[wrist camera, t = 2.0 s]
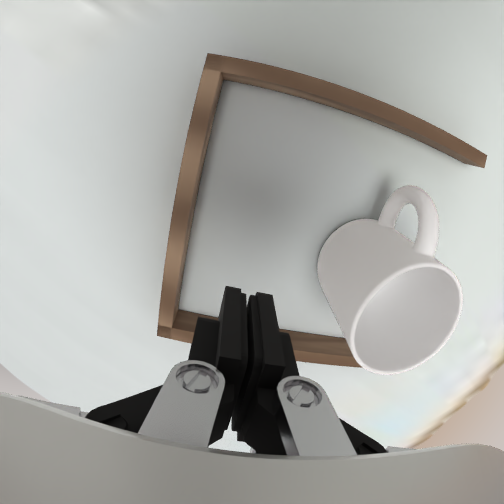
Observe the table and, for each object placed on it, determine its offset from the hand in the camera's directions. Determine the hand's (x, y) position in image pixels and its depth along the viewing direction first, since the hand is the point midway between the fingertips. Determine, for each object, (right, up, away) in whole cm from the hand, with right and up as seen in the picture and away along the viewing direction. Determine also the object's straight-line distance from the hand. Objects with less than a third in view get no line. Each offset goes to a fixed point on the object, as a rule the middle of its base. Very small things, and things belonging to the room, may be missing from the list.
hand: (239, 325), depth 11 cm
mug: (+10, +4, +15) cm, 19 cm away
